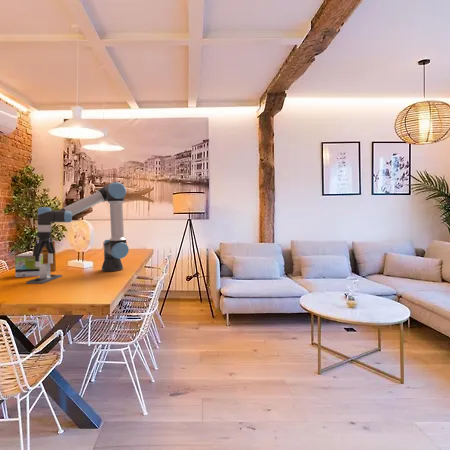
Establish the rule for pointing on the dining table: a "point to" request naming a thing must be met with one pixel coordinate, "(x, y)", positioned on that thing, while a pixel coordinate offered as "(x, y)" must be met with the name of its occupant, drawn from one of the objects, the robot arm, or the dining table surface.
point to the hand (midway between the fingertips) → (44, 265)
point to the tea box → (26, 265)
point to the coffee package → (45, 258)
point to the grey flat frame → (43, 280)
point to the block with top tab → (45, 271)
